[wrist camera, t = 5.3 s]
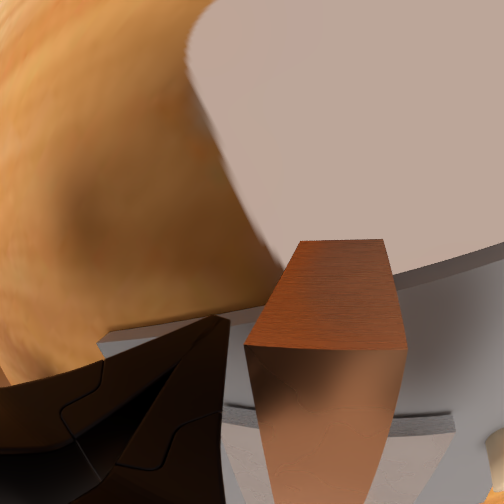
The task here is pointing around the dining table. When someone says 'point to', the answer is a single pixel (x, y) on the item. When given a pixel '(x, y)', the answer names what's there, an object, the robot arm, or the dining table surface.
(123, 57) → the dining table surface
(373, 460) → the flange plate
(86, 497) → the robot arm
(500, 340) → the slate board
